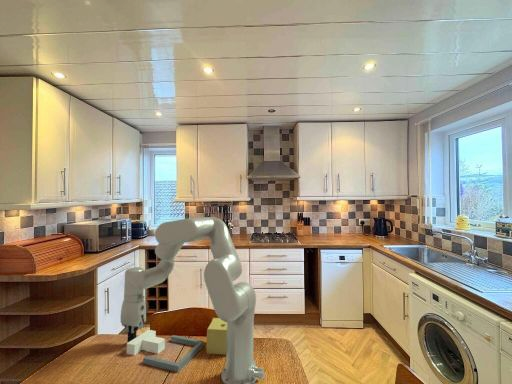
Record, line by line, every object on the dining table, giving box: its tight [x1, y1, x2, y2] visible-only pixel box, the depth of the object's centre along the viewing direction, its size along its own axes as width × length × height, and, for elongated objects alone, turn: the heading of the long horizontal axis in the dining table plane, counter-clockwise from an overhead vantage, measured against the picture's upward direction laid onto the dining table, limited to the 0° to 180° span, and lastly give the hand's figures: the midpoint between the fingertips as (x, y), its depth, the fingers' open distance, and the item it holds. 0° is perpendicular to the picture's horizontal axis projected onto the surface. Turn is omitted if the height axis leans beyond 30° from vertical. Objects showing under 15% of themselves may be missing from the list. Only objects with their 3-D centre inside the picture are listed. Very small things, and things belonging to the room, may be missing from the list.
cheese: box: [206, 317, 227, 356], centre depth 104 cm, size 10×11×10 cm
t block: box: [126, 329, 166, 356], centre depth 103 cm, size 12×12×4 cm
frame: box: [142, 334, 205, 373], centre depth 99 cm, size 16×18×2 cm
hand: (131, 341), depth 106 cm, fingers closed
